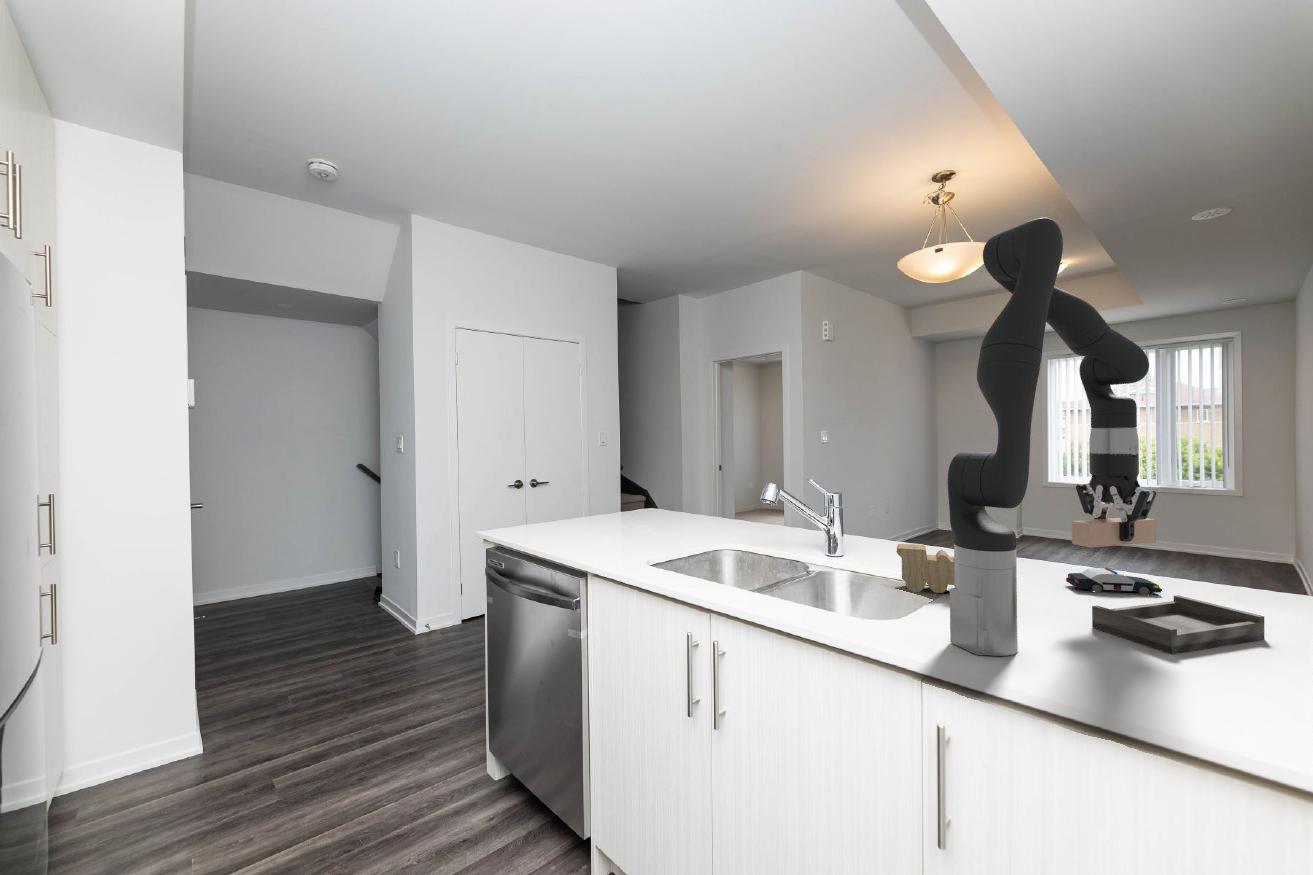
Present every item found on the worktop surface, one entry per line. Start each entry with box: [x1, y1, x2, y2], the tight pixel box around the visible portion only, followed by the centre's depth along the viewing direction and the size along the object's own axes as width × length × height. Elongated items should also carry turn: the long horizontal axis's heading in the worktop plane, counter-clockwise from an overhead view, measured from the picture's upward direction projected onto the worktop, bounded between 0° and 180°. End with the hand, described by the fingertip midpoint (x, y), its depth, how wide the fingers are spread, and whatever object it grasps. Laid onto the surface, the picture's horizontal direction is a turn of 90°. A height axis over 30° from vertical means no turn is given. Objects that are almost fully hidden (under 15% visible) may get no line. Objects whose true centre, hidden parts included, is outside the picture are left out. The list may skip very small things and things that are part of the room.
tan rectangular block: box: [1071, 517, 1157, 548], centre depth 111 cm, size 16×4×4 cm, turn 103°
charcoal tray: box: [1091, 594, 1265, 655], centre depth 101 cm, size 21×13×4 cm, turn 104°
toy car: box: [1065, 567, 1163, 596], centre depth 127 cm, size 5×16×5 cm, turn 74°
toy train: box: [896, 543, 955, 594], centre depth 130 cm, size 6×17×10 cm, turn 66°
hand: (1114, 538), depth 111 cm, fingers closed on tan rectangular block, 3 cm apart
